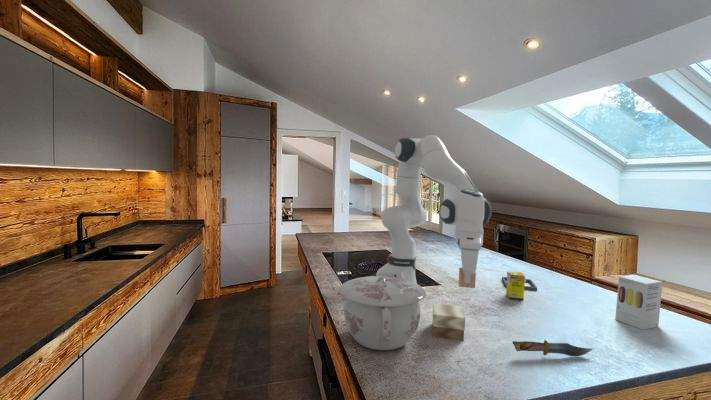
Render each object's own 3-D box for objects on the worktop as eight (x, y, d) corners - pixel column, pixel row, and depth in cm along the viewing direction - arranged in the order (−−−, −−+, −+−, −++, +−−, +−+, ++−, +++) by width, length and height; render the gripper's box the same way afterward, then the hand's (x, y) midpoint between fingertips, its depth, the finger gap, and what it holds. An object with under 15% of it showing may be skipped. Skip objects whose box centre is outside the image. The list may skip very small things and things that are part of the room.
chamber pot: (372, 314, 126) (373, 261, 124) (439, 337, 108) (441, 275, 107) (319, 342, 104) (319, 277, 103) (392, 376, 87) (394, 299, 85)
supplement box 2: (614, 319, 125) (617, 275, 124) (629, 316, 128) (633, 273, 127) (643, 330, 116) (647, 283, 115) (659, 326, 120) (663, 281, 118)
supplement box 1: (523, 300, 143) (525, 275, 143) (509, 299, 145) (510, 274, 144) (519, 295, 149) (521, 271, 148) (505, 294, 150) (506, 271, 150)
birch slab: (432, 326, 109) (433, 314, 108) (432, 314, 118) (433, 303, 118) (464, 329, 106) (465, 317, 106) (461, 317, 116) (462, 306, 116)
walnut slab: (431, 337, 109) (432, 325, 109) (433, 324, 119) (433, 313, 119) (463, 342, 107) (464, 330, 106) (462, 328, 116) (462, 317, 116)
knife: (591, 355, 99) (592, 339, 99) (594, 357, 98) (595, 341, 97) (510, 355, 98) (511, 339, 98) (512, 357, 97) (513, 341, 96)
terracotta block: (459, 286, 109) (459, 271, 109) (458, 281, 114) (459, 267, 114) (475, 288, 108) (475, 273, 108) (473, 283, 113) (474, 269, 113)
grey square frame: (505, 287, 160) (505, 284, 160) (501, 279, 173) (502, 276, 173) (537, 290, 156) (537, 287, 156) (530, 282, 169) (530, 279, 169)
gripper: (458, 232, 121) (456, 269, 122) (459, 244, 101) (457, 287, 102) (476, 234, 119) (474, 271, 120) (481, 245, 99) (479, 290, 101)
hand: (466, 279), depth 111 cm, fingers closed on terracotta block, 5 cm apart
